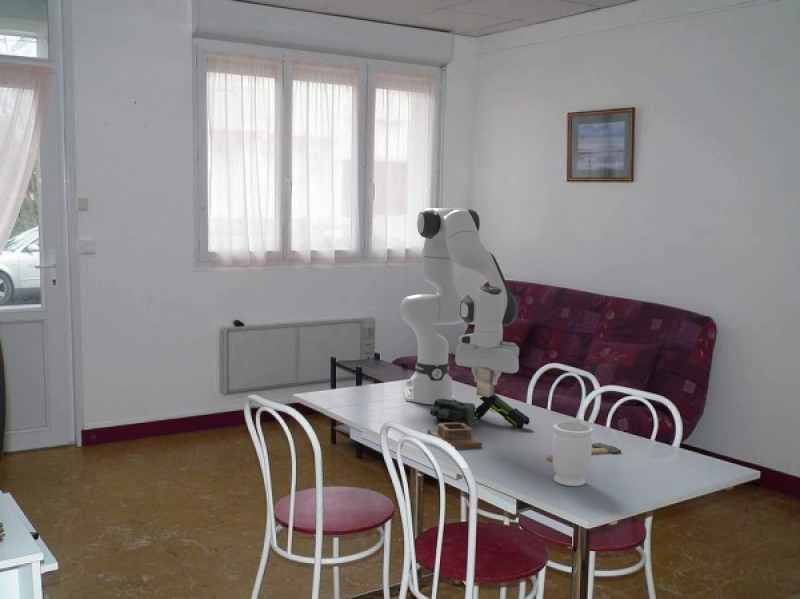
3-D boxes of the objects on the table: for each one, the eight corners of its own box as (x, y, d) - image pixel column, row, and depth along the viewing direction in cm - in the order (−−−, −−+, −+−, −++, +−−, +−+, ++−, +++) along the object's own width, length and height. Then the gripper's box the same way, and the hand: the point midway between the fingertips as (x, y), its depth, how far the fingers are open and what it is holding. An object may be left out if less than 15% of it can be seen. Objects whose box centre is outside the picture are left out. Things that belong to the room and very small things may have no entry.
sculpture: (428, 412, 275) (472, 423, 272) (433, 391, 277) (478, 402, 274) (430, 421, 286) (473, 432, 283) (435, 400, 288) (478, 411, 286)
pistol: (530, 429, 275) (532, 399, 273) (526, 431, 272) (527, 401, 271) (476, 417, 287) (477, 388, 285) (471, 419, 284) (472, 390, 283)
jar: (594, 488, 219) (598, 432, 217) (555, 488, 218) (559, 432, 217) (582, 475, 230) (586, 421, 228) (545, 474, 229) (548, 421, 227)
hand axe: (599, 440, 261) (623, 449, 252) (599, 445, 261) (622, 454, 252) (532, 450, 247) (555, 460, 239) (532, 456, 247) (555, 466, 239)
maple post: (481, 392, 263) (483, 364, 262) (494, 394, 261) (495, 366, 260) (476, 395, 259) (477, 366, 258) (488, 397, 257) (490, 368, 256)
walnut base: (427, 434, 263) (428, 420, 263) (463, 432, 267) (464, 418, 266) (443, 449, 248) (444, 434, 248) (481, 447, 251) (482, 433, 251)
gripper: (523, 342, 256) (520, 386, 257) (463, 334, 266) (460, 377, 268) (515, 344, 250) (512, 390, 252) (454, 336, 260) (451, 380, 262)
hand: (485, 383), depth 260 cm, fingers closed on maple post, 4 cm apart
